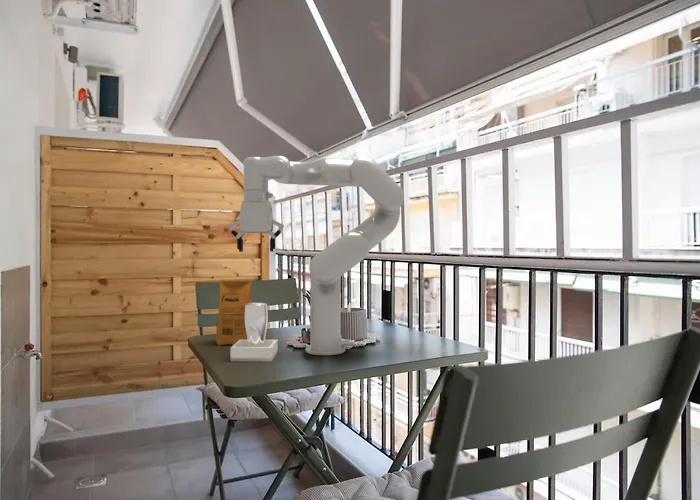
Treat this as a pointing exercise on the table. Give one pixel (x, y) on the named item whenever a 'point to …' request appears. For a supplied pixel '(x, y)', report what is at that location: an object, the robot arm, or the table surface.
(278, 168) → the robot arm
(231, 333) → the coffee package
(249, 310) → the beer glass
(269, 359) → the tray
